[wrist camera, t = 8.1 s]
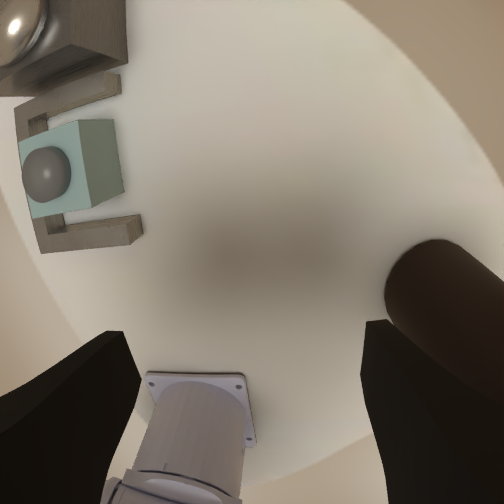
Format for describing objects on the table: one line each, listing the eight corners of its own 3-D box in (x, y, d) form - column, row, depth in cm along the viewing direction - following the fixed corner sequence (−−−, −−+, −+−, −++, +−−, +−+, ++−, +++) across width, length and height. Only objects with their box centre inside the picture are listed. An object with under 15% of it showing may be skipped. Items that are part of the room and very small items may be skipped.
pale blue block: (124, 191, 18) (81, 213, 14) (68, 201, 19) (21, 224, 14) (114, 119, 17) (66, 120, 12) (57, 136, 17) (6, 144, 12)
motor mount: (151, 232, 19) (96, 285, 12) (56, 243, 20) (-7, 287, 13) (125, -9, 13) (64, -52, 7) (31, 34, 14) (-38, 21, 8)
